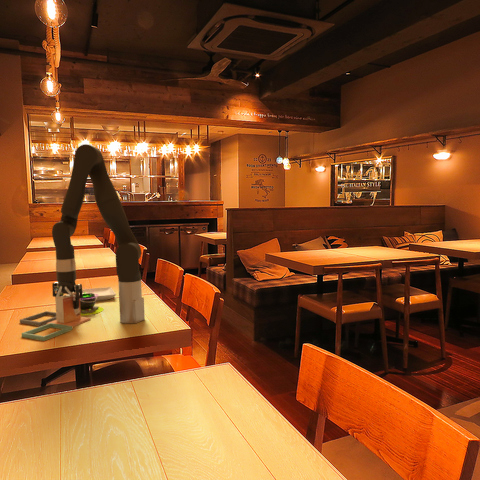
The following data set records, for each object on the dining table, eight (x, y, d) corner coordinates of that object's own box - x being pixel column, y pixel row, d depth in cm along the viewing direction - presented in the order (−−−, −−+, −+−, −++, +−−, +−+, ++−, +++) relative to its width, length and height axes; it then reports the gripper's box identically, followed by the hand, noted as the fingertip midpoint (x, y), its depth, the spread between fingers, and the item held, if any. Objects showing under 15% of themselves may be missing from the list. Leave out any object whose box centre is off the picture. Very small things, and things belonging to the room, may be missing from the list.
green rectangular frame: (72, 329, 158) (72, 326, 158) (44, 340, 146) (43, 336, 146) (51, 326, 163) (50, 322, 163) (21, 337, 151) (21, 333, 150)
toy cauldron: (91, 316, 176) (90, 292, 175) (61, 315, 179) (60, 290, 178) (109, 307, 191) (108, 284, 190) (81, 306, 194) (80, 283, 193)
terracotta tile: (90, 319, 171) (90, 318, 171) (68, 328, 160) (68, 326, 160) (69, 316, 176) (69, 315, 176) (46, 324, 165) (46, 323, 165)
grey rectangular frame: (65, 317, 176) (65, 313, 175) (39, 326, 163) (39, 322, 163) (46, 314, 180) (46, 311, 180) (19, 323, 168) (19, 319, 168)
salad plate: (70, 296, 215) (69, 290, 214) (111, 292, 224) (111, 286, 223) (71, 305, 196) (71, 298, 195) (117, 300, 205) (116, 294, 204)
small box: (63, 324, 163) (62, 298, 162) (56, 321, 166) (54, 296, 165) (81, 319, 170) (80, 294, 169) (73, 317, 173) (72, 293, 172)
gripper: (86, 268, 166) (88, 307, 168) (60, 267, 172) (62, 304, 174) (72, 272, 160) (74, 311, 161) (45, 270, 165) (48, 308, 167)
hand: (68, 307), depth 167 cm, fingers open, 8 cm apart
